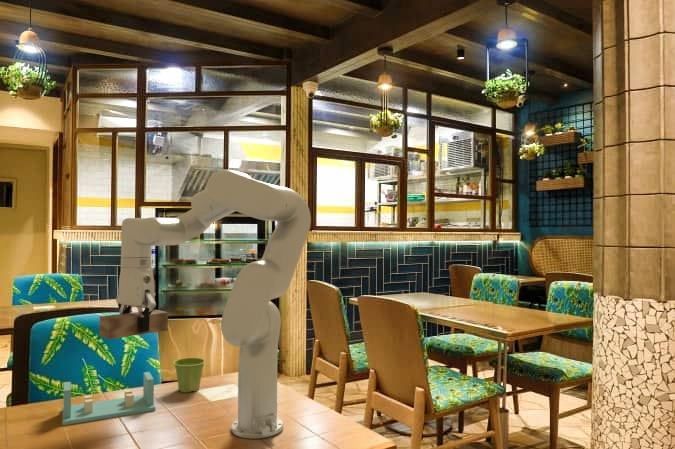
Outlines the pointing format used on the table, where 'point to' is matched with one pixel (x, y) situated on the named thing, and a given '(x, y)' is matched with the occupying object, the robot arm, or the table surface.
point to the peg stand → (108, 404)
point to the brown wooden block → (131, 324)
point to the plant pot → (189, 373)
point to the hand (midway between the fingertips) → (134, 329)
